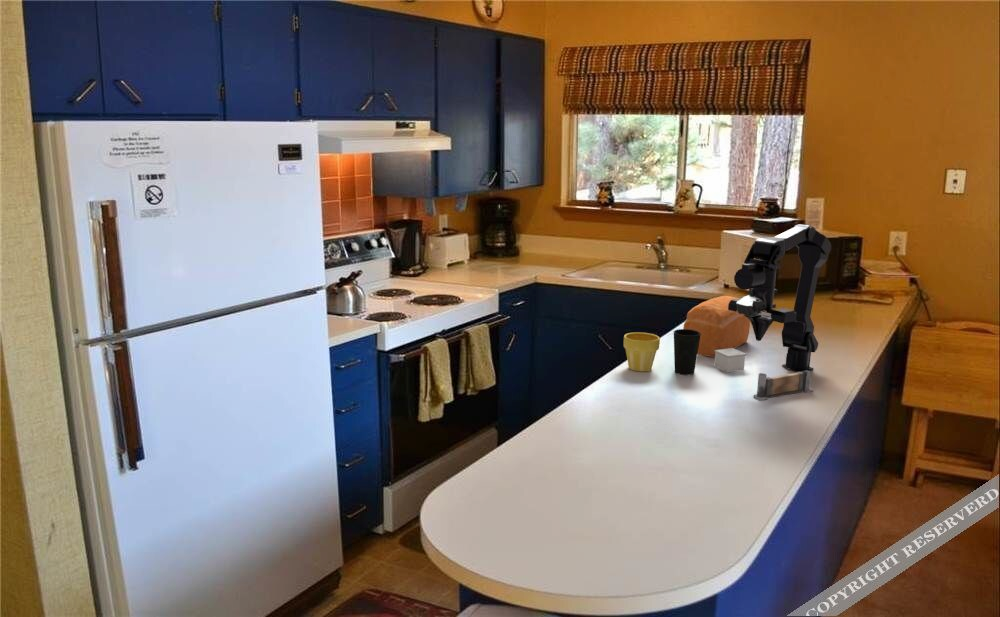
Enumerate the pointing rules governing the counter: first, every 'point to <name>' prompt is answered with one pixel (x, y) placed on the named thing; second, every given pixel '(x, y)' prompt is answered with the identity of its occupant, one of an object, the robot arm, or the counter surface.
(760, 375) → the hinge post
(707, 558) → the counter surface
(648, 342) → the plant pot
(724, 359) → the base block
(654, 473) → the counter surface
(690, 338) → the cup
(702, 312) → the bread
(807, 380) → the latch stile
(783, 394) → the strip
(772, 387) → the gate
